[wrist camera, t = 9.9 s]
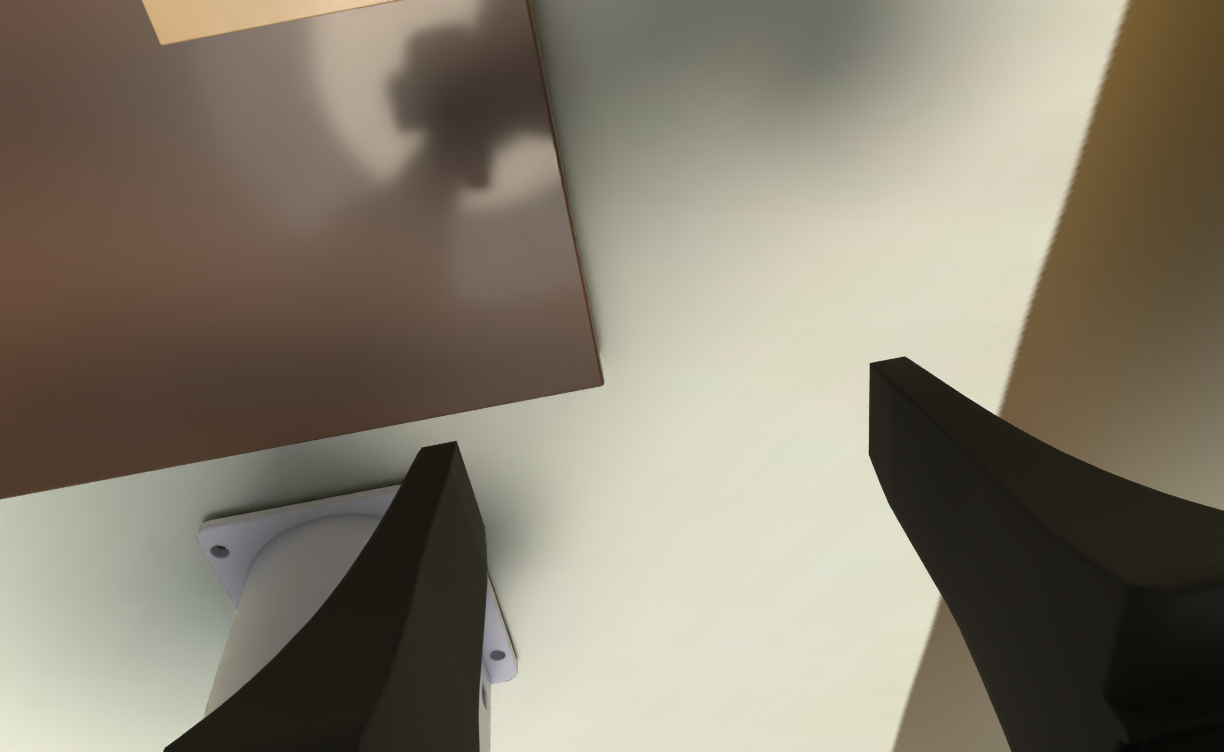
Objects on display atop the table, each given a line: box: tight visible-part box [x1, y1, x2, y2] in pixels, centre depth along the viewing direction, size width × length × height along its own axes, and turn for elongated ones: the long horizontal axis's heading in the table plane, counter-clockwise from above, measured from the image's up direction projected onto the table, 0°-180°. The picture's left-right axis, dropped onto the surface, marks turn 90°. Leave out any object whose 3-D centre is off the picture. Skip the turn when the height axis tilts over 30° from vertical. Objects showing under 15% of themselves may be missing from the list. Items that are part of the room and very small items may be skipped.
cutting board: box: [0, 0, 604, 499], centre depth 20 cm, size 18×18×2 cm
